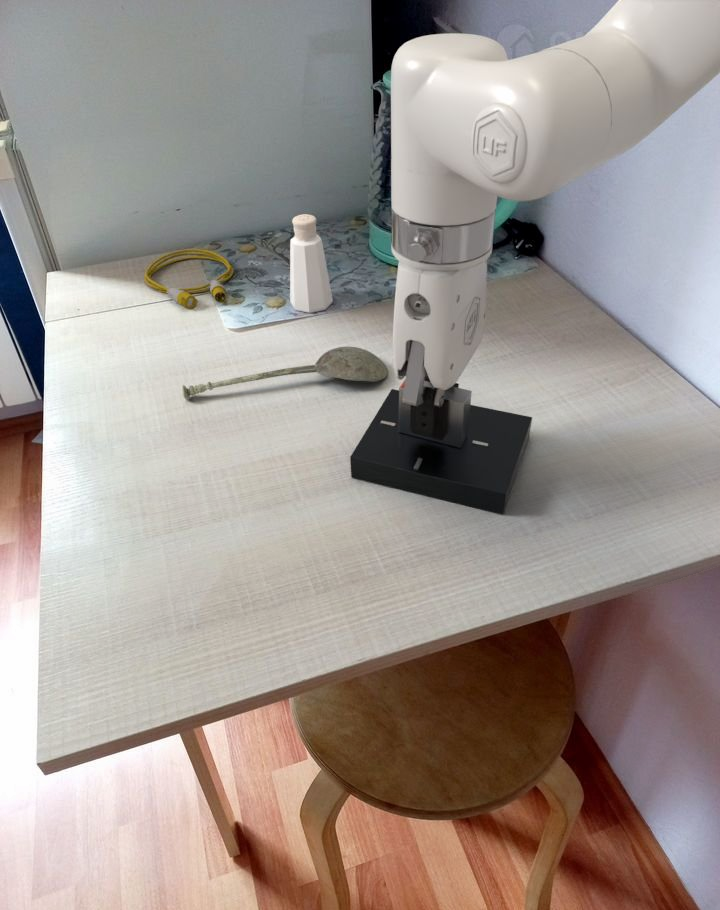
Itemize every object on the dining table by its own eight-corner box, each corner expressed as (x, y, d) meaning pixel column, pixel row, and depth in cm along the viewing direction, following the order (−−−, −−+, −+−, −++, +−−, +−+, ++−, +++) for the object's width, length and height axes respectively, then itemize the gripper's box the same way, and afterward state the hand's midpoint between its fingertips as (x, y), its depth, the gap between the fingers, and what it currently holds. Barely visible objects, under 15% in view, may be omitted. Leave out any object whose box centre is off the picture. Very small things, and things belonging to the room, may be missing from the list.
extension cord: (129, 313, 89) (125, 298, 87) (157, 257, 101) (154, 244, 99) (225, 310, 88) (223, 295, 87) (242, 255, 100) (240, 241, 99)
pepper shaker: (292, 292, 91) (283, 209, 84) (334, 292, 91) (329, 208, 84) (287, 313, 87) (277, 227, 80) (331, 313, 87) (325, 227, 80)
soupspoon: (394, 392, 75) (380, 361, 80) (395, 364, 73) (381, 334, 78) (184, 416, 72) (184, 382, 77) (179, 388, 70) (179, 355, 75)
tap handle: (467, 435, 64) (472, 388, 61) (460, 448, 63) (464, 401, 60) (406, 419, 66) (407, 373, 63) (398, 432, 65) (398, 385, 62)
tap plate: (529, 437, 68) (532, 415, 66) (503, 515, 60) (506, 492, 58) (391, 408, 72) (391, 387, 70) (351, 477, 64) (349, 455, 63)
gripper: (455, 287, 45) (442, 493, 57) (521, 198, 56) (498, 387, 68) (349, 267, 48) (358, 469, 60) (432, 186, 59) (425, 371, 71)
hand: (433, 424), depth 64 cm, fingers closed on tap handle, 2 cm apart
